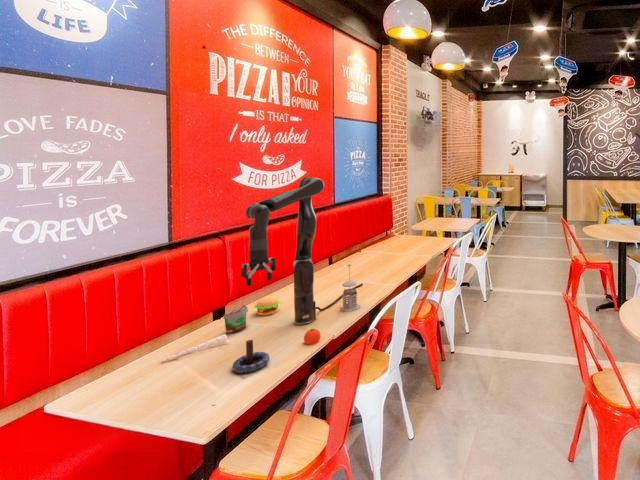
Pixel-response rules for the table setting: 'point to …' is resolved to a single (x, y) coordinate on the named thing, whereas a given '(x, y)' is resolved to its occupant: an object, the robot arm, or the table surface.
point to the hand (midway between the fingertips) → (259, 283)
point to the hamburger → (267, 305)
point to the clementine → (312, 336)
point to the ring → (253, 367)
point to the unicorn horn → (200, 347)
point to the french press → (352, 295)
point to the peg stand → (249, 355)
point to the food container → (236, 320)
